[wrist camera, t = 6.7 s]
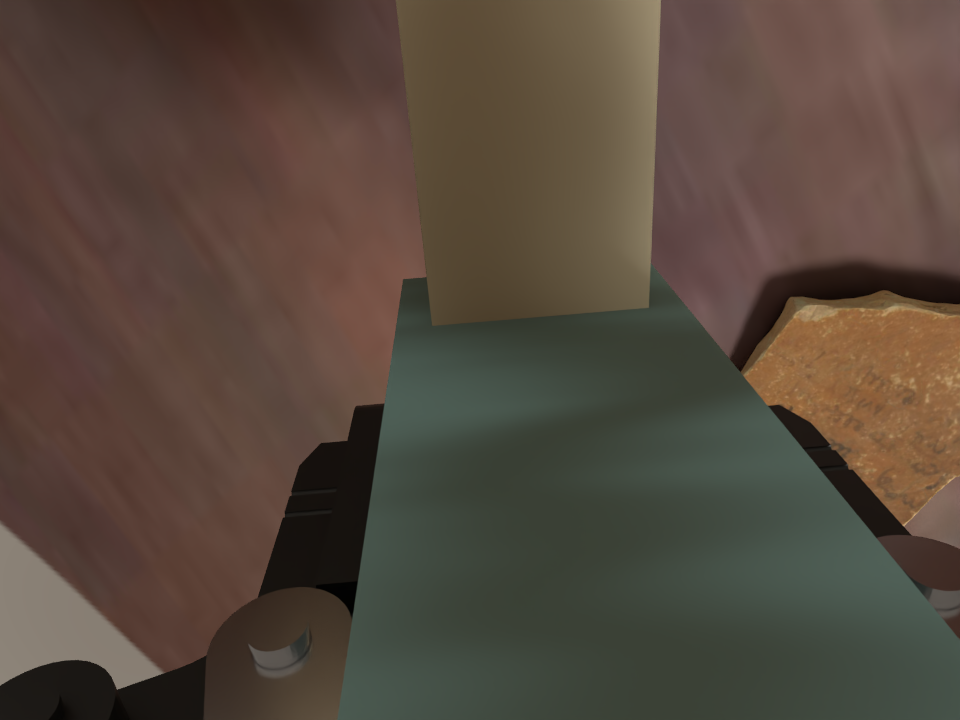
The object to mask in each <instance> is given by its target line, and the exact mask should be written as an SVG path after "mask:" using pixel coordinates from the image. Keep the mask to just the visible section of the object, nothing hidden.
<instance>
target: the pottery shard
mask: <svg viewBox="0 0 960 720" xmlns="http://www.w3.org/2000/svg"><path fill="white" fill-rule="evenodd" d="M740 373H741V374H742V375H743V376H744V377H745V379H746V380H747V381H748V382H749V383H750V385H751V386H752V387H753V388H754V390H755V391H756V392H757V393H758V394H759V396H760V397H761V398H762V399H763V401H764V402H765V403H766V404H767V405H768V406H770V405H781V406H783V407H784V408H786V409H788V410H790V411H791V412H793V413H795V414H797V415H798V416H800V417H802V418H804V419H805V420H807V421H809V422H811V423H812V424H813V425H814V427H815V428H816V429H817V430H818V431H819V432H820V433H821V434H822V436H823V437H824V438H825V439H826V440H827V441H828V442H829V443H830V444H831V449H832V450H836V451H837V452H838V453H839V455H840V456H841V457H842V458H843V459H844V460H845V461H846V462H847V464H848V468H849V470H850V469H853V470H854V471H855V473H856V474H857V475H858V476H859V477H860V478H861V479H862V480H863V482H864V483H865V484H866V485H867V486H868V487H869V488H870V489H871V490H872V492H873V493H874V494H875V495H876V496H877V497H878V498H879V499H880V501H881V502H882V503H883V504H884V505H885V506H886V507H887V508H888V510H889V511H890V512H891V513H892V514H893V515H894V516H895V517H896V519H897V520H898V521H899V522H900V523H901V524H902V525H903V526H905V525H906V523H907V522H909V521H910V520H911V519H912V518H913V517H914V516H915V515H916V514H917V513H918V511H919V510H920V509H921V508H922V507H923V506H925V505H926V504H927V503H928V501H929V500H930V499H931V498H932V497H933V496H934V495H935V494H936V493H937V492H938V491H939V490H941V489H942V488H943V487H944V486H945V485H946V484H948V483H949V482H950V481H951V480H952V479H954V478H955V477H958V476H960V304H949V303H932V302H926V301H921V300H916V299H911V298H905V297H902V296H900V295H897V294H894V293H892V292H890V291H886V290H882V291H879V292H877V293H874V294H871V295H868V296H862V297H858V298H850V299H839V300H818V299H814V298H807V297H802V296H801V297H790V298H789V299H788V300H787V302H786V305H785V308H784V310H783V312H782V313H781V315H780V317H779V319H778V320H777V321H776V323H775V324H774V326H773V328H772V329H771V330H770V331H769V333H768V334H767V335H766V336H765V337H764V338H763V339H762V340H761V341H760V342H759V343H758V345H757V346H756V348H755V350H754V352H753V353H752V354H751V356H750V358H749V359H748V361H747V363H746V364H745V366H744V368H743V369H742V371H741V372H740Z"/></svg>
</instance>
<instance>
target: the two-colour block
mask: <svg viewBox="0 0 960 720" xmlns="http://www.w3.org/2000/svg"><path fill="white" fill-rule="evenodd" d="M396 5H397V14H398V23H399V32H400V41H401V50H402V59H403V68H404V77H405V86H406V95H407V104H408V113H409V122H410V131H411V140H412V149H413V158H414V167H415V176H416V185H417V194H418V203H419V212H420V221H421V230H422V239H423V248H424V257H425V266H426V275H427V277H425V278H413V279H403V285H402V291H401V298H400V305H399V311H398V318H397V325H396V331H395V338H394V345H393V351H392V358H391V365H390V371H389V378H388V385H387V391H386V398H385V405H384V411H383V418H382V425H381V431H380V438H379V445H378V451H377V458H376V465H375V471H374V478H373V485H372V491H371V498H370V505H369V511H368V518H367V525H366V531H365V538H364V545H363V552H362V558H361V565H360V572H359V578H358V585H357V592H356V598H355V605H354V612H353V618H352V625H351V632H350V638H349V645H348V652H347V658H346V665H345V672H344V678H343V685H342V692H341V698H340V705H339V712H338V718H337V720H960V639H959V638H958V637H957V636H956V635H955V633H954V632H953V631H952V630H951V628H950V627H949V626H948V625H947V624H946V622H945V621H944V620H943V619H942V617H941V616H940V615H939V614H938V613H937V611H936V610H935V609H934V608H933V606H932V605H931V604H930V603H929V602H928V600H927V599H926V598H925V597H924V596H923V594H922V593H921V592H920V591H919V589H918V588H917V587H916V586H915V585H914V583H913V582H912V581H911V580H910V578H909V577H908V576H907V575H906V574H905V572H904V571H903V570H902V569H901V567H900V566H899V565H898V564H897V563H896V561H895V560H894V559H893V558H892V557H891V555H890V554H889V553H888V552H887V550H886V549H885V548H884V547H883V546H882V544H881V543H880V542H879V541H878V539H877V538H876V537H875V536H874V535H873V533H872V532H871V531H870V530H869V528H868V527H867V526H866V525H865V524H864V522H863V521H862V520H861V519H860V518H859V516H858V515H857V514H856V513H855V511H854V510H853V509H852V508H851V507H850V505H849V504H848V503H847V502H846V500H845V499H844V498H843V497H842V496H841V494H840V493H839V492H838V491H837V490H836V488H835V487H834V486H833V485H832V483H831V482H830V481H829V480H828V479H827V477H826V476H825V475H824V474H823V472H822V471H821V470H820V469H819V468H818V466H817V465H816V464H815V463H814V461H813V460H812V459H811V458H810V457H809V455H808V454H807V453H806V452H805V451H804V449H803V448H802V447H801V446H800V444H799V443H798V442H797V441H796V440H795V438H794V437H793V436H792V435H791V433H790V432H789V431H788V430H787V429H786V427H785V426H784V425H783V424H782V422H781V421H780V420H779V419H778V418H777V416H776V415H775V414H774V413H773V412H772V410H771V409H770V408H769V407H768V405H767V404H766V403H765V402H764V401H763V399H762V398H761V397H760V396H759V394H758V393H757V392H756V391H755V390H754V388H753V387H752V386H751V385H750V383H749V382H748V381H747V380H746V379H745V377H744V376H743V375H742V374H741V373H740V371H739V370H738V369H737V368H736V366H735V365H734V364H733V363H732V362H731V360H730V359H729V358H728V357H727V355H726V354H725V353H724V352H723V351H722V349H721V348H720V347H719V346H718V345H717V343H716V342H715V341H714V340H713V338H712V337H711V336H710V335H709V334H708V332H707V331H706V330H705V329H704V327H703V326H702V325H701V324H700V323H699V321H698V320H697V319H696V318H695V316H694V315H693V314H692V313H691V312H690V310H689V309H688V308H687V307H686V306H685V304H684V303H683V302H682V301H681V299H680V298H679V297H678V296H677V295H676V293H675V292H674V291H673V290H672V288H671V287H670V286H669V285H668V284H667V282H666V281H665V280H664V279H663V277H662V276H661V275H660V274H659V273H658V271H657V270H656V269H655V268H654V267H653V265H652V264H651V241H652V215H653V190H654V164H655V139H656V113H657V88H658V62H659V36H660V11H661V0H396Z"/></svg>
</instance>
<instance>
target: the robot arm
mask: <svg viewBox="0 0 960 720" xmlns="http://www.w3.org/2000/svg"><path fill="white" fill-rule="evenodd" d="M384 405H385V404H374V405H362V406H356V407H355V410H354V414H353V418H352V423H351V427H350V432H349V436H348V441H341V442H330V443H321V444H320V445H319V446H318V447H317V448H316V449H315V450H314V451H313V452H312V453H311V454H310V455H309V456H308V457H307V458H306V459H305V460H304V462H303V463H302V464H301V465H300V466H299V469H298V472H297V475H296V478H295V481H294V484H293V488H292V491H291V492H292V496H290V497H289V500H288V503H287V507H286V510H285V518H283V519H282V522H281V526H280V529H279V532H278V535H277V538H276V541H275V545H274V548H273V551H272V554H271V557H270V560H269V564H268V567H267V570H266V573H265V576H264V579H263V583H262V586H261V589H260V592H259V595H258V598H256V599H254V600H252V601H251V602H249V603H247V604H245V605H244V606H242V607H241V608H240V609H238V610H237V611H236V612H234V613H233V614H232V615H231V616H230V617H229V618H228V619H227V620H226V621H225V622H224V623H223V624H222V625H221V627H220V628H219V629H218V631H217V632H216V634H215V635H214V637H213V639H212V641H211V643H210V646H209V649H208V651H207V655H206V656H205V657H203V658H201V659H199V660H197V661H195V662H193V663H191V664H188V665H186V666H183V667H181V668H178V669H175V670H173V671H170V672H167V673H164V674H161V675H158V676H156V677H153V678H150V679H147V680H144V681H141V682H138V683H135V684H133V685H130V686H127V687H125V688H121V689H118V690H117V689H116V687H115V684H114V682H113V680H112V677H111V676H110V675H109V673H108V672H107V671H106V670H105V669H104V668H102V667H101V666H99V665H97V664H94V663H91V662H88V661H79V660H70V661H60V662H55V663H50V664H47V665H43V666H40V667H37V668H34V669H32V670H30V671H27V672H24V673H22V674H20V675H19V676H16V677H15V678H12V679H10V680H9V681H7V682H6V683H4V684H2V685H1V686H0V720H337V718H338V712H339V705H340V698H341V692H342V685H343V678H344V672H345V665H346V658H347V652H348V645H349V638H350V632H351V625H352V618H353V612H354V605H355V598H356V592H357V585H358V578H359V572H360V565H361V558H362V552H363V545H364V538H365V531H366V525H367V518H368V511H369V505H370V498H371V491H372V485H373V478H374V471H375V465H376V458H377V451H378V445H379V438H380V431H381V425H382V418H383V411H384ZM768 407H769V408H770V409H771V410H772V412H773V413H774V414H775V415H776V416H777V418H778V419H779V420H780V421H781V422H782V424H783V425H784V426H785V427H786V429H787V430H788V431H789V432H790V433H791V435H792V436H793V437H794V438H795V440H796V441H797V442H798V443H799V444H800V446H801V447H802V448H803V449H804V451H805V452H806V453H807V454H808V455H809V457H810V458H811V459H812V460H813V461H814V463H815V464H816V465H817V466H818V468H819V469H820V470H821V471H822V472H823V474H824V475H825V476H826V477H827V479H828V480H829V481H830V482H831V483H832V485H833V486H834V487H835V488H836V490H837V491H838V492H839V493H840V494H841V496H842V497H843V498H844V499H845V500H846V502H847V503H848V504H849V505H850V507H851V508H852V509H853V510H854V511H855V513H856V514H857V515H858V516H859V518H860V519H861V520H862V521H863V522H864V524H865V525H866V526H867V527H868V528H869V530H870V531H871V532H872V533H873V535H874V536H875V537H876V538H877V539H878V541H879V542H880V543H881V544H882V546H883V547H884V548H885V549H886V550H887V552H888V553H889V554H890V555H891V557H892V558H893V559H894V560H895V561H896V563H897V564H898V565H899V566H900V567H901V569H902V570H903V571H904V572H905V574H906V575H907V576H908V577H909V578H910V580H911V581H912V582H913V583H914V585H915V586H916V587H917V588H918V589H919V591H920V592H921V593H922V594H923V596H924V597H925V598H926V599H927V600H928V602H929V603H930V604H931V605H932V606H933V608H934V609H935V610H936V611H937V613H938V614H939V615H940V616H941V617H942V619H943V620H944V621H945V622H946V624H947V625H948V626H949V627H950V628H951V630H952V631H953V632H954V633H955V635H956V636H957V637H958V638H959V639H960V549H959V548H956V547H954V546H952V545H949V544H946V543H943V542H940V541H937V540H933V539H929V538H924V537H918V536H912V535H911V534H910V533H909V532H908V531H907V530H906V529H905V528H904V526H903V525H902V524H901V523H900V522H899V521H898V520H897V519H896V517H895V516H894V515H893V514H892V513H891V512H890V511H889V510H888V508H887V507H886V506H885V505H884V504H883V503H882V502H881V501H880V499H879V498H878V497H877V496H876V495H875V494H874V493H873V492H872V490H871V489H870V488H869V487H868V486H867V485H866V484H865V483H864V482H863V480H862V479H861V478H860V477H859V476H858V475H857V474H856V473H855V471H854V470H853V469H850V470H849V468H848V464H847V462H846V461H845V460H844V459H843V458H842V457H841V456H840V455H839V453H838V452H837V451H836V450H832V449H831V444H830V443H829V442H828V441H827V440H826V439H825V438H824V437H823V436H822V434H821V433H820V432H819V431H818V430H817V429H816V428H815V427H814V425H813V424H812V423H811V422H809V421H807V420H805V419H804V418H802V417H800V416H798V415H797V414H795V413H793V412H791V411H790V410H788V409H786V408H784V407H783V406H781V405H770V406H768Z"/></svg>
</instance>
